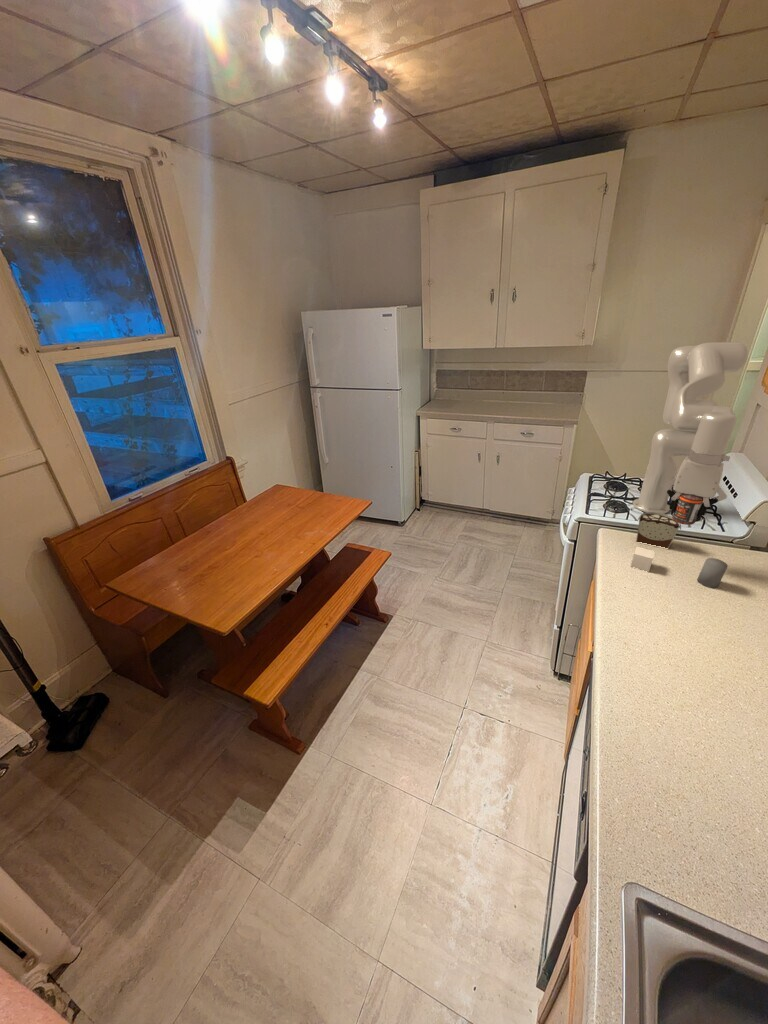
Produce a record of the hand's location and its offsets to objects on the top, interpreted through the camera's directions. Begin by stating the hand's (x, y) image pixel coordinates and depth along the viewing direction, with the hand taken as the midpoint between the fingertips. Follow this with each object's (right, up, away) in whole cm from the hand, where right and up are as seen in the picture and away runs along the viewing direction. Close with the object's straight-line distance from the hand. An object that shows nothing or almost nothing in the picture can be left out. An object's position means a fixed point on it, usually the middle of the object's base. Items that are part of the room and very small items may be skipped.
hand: (685, 513), depth 121 cm
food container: (+2, -10, +18) cm, 21 cm away
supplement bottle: (0, -2, +1) cm, 3 cm away
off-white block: (-10, -17, +6) cm, 20 cm away
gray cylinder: (+4, -20, -3) cm, 21 cm away
